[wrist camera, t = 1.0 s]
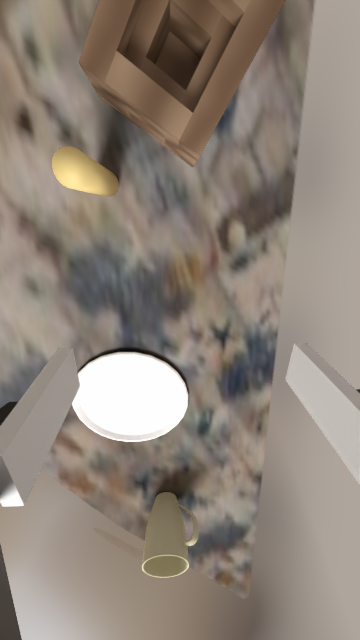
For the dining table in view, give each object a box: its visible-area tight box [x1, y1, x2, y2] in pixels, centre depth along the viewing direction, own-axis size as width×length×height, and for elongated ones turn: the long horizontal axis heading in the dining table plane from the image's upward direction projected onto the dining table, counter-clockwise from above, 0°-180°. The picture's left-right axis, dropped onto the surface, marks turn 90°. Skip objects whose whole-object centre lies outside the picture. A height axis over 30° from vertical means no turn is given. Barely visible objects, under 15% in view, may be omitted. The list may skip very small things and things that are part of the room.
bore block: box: [79, 0, 285, 167], centre depth 22 cm, size 12×12×7 cm
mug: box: [142, 492, 198, 578], centre depth 51 cm, size 11×10×12 cm
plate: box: [72, 352, 188, 442], centre depth 43 cm, size 21×21×1 cm
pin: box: [52, 146, 119, 196], centre depth 24 cm, size 3×3×12 cm
